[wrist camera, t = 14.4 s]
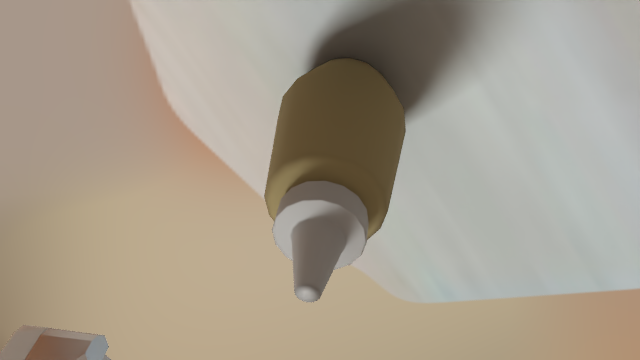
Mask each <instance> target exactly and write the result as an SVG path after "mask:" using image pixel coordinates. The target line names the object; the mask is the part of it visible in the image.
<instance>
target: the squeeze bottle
mask: <svg viewBox="0 0 640 360" xmlns="http://www.w3.org/2000/svg"><path fill="white" fill-rule="evenodd" d="M405 131H406V130H405V117H404V108H403V106H402V105H401V103H400V101H399V99H398V98H397V96H396V94H395V92H394V91H393V89H392V87H391V86H390V85H389V84H388V82H387V81H386V80H385V78H384V77H383V76H382V75H381V73H380V72H378V71H377V70H376V69H374V68H373V67H372V66H370V65H369V64H368V63H366V62H362V61H359V60H355V59H352V58H343V59H332V60H330V61H328V62H326V63H324V64H322V65H320V66H318V67H316V68H315V69H313V70H311V71H310V72H308V73H306V74H304V75H303V76H301V77H299V78H298V79H297V80H296V81H295V82H294V84H293V85H292V86H291V87H290V88H289V90H288V91H287V92H286V93H285V95H284V96H283V99H282V103H281V107H280V111H279V116H278V121H277V127H276V132H275V138H274V144H273V149H272V155H271V161H270V167H269V172H268V178H267V184H266V190H265V195H264V197H265V201H266V205H267V208H268V212H269V215H270V217H271V218H272V219H273V220H274V225H273V228H272V232H273V236H274V240H275V244H276V245H277V246H278V248H279V249H280V250H281V251H282V253H283V254H284V255H285V256H286V257H287V258H289V259H291V260H292V261H293V273H294V291H295V295H296V296H297V297H298V298H299V299H300V300H302V301H306V302H314V301H317V300H318V299H319V298H320V296H321V295H322V292H323V290H324V288H325V286H326V284H327V282H328V280H329V278H330V276H331V274H332V272H333V270H335V269H338V268H341V267H344V266H347V265H350V264H351V263H352V262H353V261H355V260H356V259H357V258H358V257H359V256H361V255H362V252H363V250H364V247H365V245H366V242H367V239H369V238H370V237H371V236H372V235H373V234H374V233H376V232H377V231H378V230H379V229H380V228H381V226H382V223H383V221H384V219H385V216H386V214H387V211H388V208H389V203H390V199H391V194H392V190H393V185H394V181H395V176H396V172H397V167H398V163H399V158H400V154H401V149H402V145H403V140H404V136H405Z"/></svg>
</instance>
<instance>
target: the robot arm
mask: <svg viewBox="0 0 640 360" xmlns="http://www.w3.org/2000/svg"><path fill="white" fill-rule="evenodd" d="M108 347H109V346H108V344H107V341H106V338H105V336H104V335H98V334H90V333H82V332H75V331H66V330H59V329H52V328H45V327H37V326H28V325H23V326H21V327H20V328H19V329H17V330H16V331H15V332H14V333H13V334H12V336H11V337H10V339H9V340H8V342H7V343H6V345H5V346H4V347H3V349H2V350H1V352H0V360H111V359H110V358H108V357H107V356H106V355H105V353H106V351H107V349H108Z"/></svg>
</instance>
